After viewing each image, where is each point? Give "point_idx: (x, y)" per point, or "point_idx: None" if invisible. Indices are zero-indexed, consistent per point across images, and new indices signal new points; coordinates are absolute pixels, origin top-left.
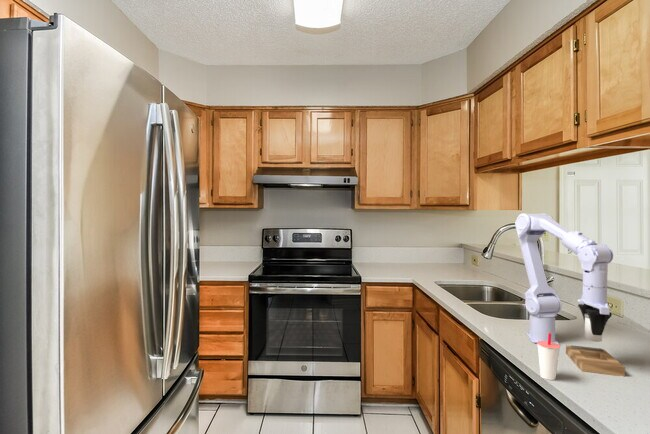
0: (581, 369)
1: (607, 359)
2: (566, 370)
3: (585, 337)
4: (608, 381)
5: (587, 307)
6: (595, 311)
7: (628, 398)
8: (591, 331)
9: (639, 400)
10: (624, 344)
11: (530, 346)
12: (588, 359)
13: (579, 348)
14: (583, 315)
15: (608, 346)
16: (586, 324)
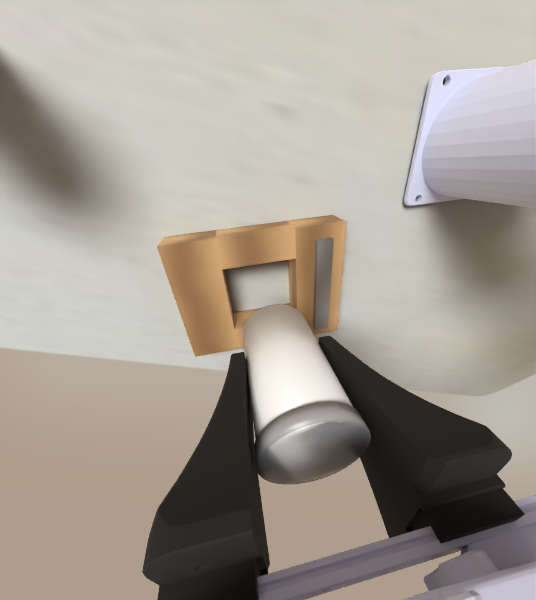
0: (167, 237)
1: (243, 327)
2: (135, 179)
3: (267, 309)
4: (125, 298)
5: (408, 487)
6: (178, 579)
7: (18, 323)
8: (249, 357)
9: (30, 343)
10: (424, 364)
11: (383, 49)
12: (208, 275)
13: (314, 264)
14: (374, 389)
15: (409, 336)
16: (277, 365)
